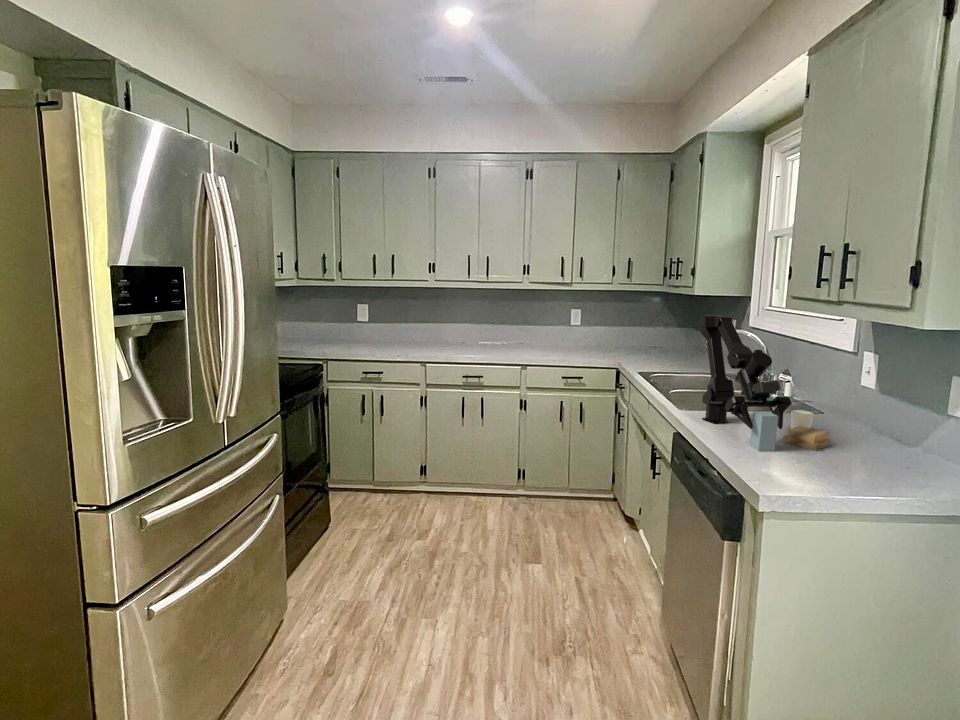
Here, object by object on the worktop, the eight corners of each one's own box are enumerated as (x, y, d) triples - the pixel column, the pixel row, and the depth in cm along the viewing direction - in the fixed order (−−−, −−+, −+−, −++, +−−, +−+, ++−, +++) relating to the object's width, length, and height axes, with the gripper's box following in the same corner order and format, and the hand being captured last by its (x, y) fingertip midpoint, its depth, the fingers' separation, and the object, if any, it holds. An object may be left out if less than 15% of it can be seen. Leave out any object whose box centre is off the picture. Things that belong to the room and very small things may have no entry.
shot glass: (804, 429, 197) (806, 409, 196) (816, 435, 190) (818, 414, 189) (784, 428, 197) (786, 409, 196) (796, 434, 190) (798, 414, 189)
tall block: (749, 446, 177) (753, 411, 175) (765, 446, 177) (769, 411, 176) (758, 451, 172) (762, 416, 170) (774, 451, 173) (778, 416, 171)
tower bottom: (782, 444, 182) (783, 436, 181) (796, 438, 188) (797, 431, 187) (815, 452, 174) (816, 444, 174) (829, 447, 180) (830, 439, 180)
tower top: (787, 437, 181) (788, 429, 181) (799, 433, 186) (800, 425, 185) (814, 443, 175) (815, 435, 174) (826, 439, 179) (826, 431, 179)
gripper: (733, 370, 174) (748, 414, 165) (791, 370, 176) (810, 415, 166) (718, 390, 183) (732, 433, 174) (774, 390, 185) (791, 433, 176)
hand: (766, 428), depth 172 cm, fingers open, 9 cm apart
